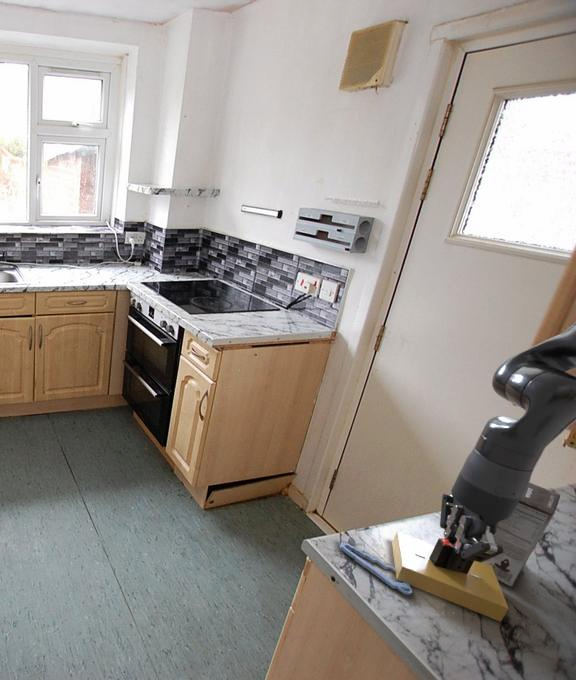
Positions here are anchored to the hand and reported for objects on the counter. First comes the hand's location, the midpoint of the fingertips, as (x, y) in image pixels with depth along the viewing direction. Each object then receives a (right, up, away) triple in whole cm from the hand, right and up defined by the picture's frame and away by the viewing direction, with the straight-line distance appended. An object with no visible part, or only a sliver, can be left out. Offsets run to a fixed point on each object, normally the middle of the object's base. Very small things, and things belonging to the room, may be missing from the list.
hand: (448, 563), depth 79 cm
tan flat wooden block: (0, -3, +1) cm, 4 cm away
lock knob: (0, -1, 0) cm, 1 cm away
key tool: (-11, -2, +3) cm, 11 cm away
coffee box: (+13, -3, +6) cm, 15 cm away
